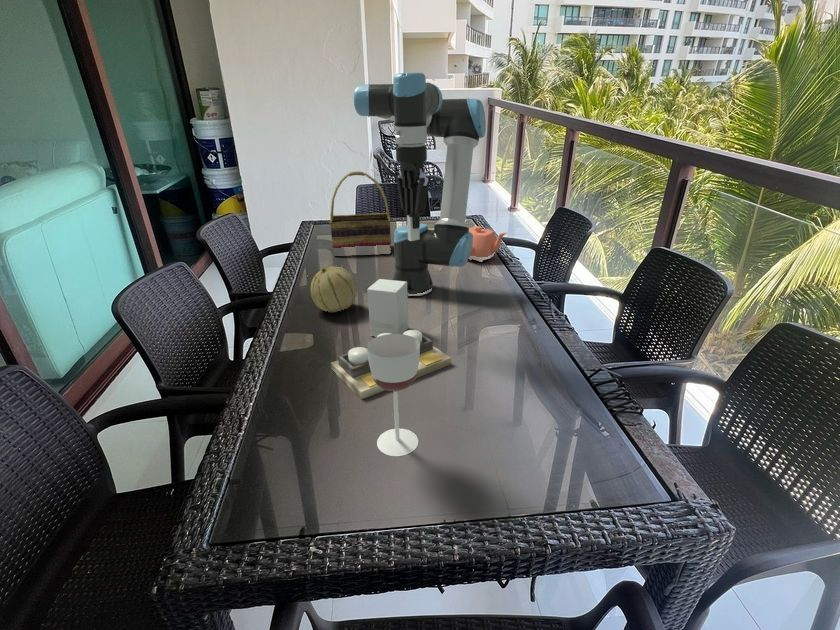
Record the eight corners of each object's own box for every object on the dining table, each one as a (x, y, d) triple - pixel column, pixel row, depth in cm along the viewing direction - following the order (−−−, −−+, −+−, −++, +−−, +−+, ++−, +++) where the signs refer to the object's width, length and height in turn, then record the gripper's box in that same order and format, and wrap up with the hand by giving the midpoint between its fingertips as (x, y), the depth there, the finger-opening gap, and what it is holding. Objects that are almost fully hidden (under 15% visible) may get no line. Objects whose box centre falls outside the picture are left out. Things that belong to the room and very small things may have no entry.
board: (331, 369, 117) (329, 354, 115) (415, 340, 131) (415, 326, 129) (361, 399, 105) (360, 382, 103) (450, 364, 119) (451, 349, 117)
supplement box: (409, 327, 138) (408, 281, 132) (398, 341, 131) (396, 292, 124) (381, 323, 141) (379, 277, 135) (369, 336, 133) (366, 288, 127)
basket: (332, 257, 201) (323, 175, 186) (333, 248, 214) (326, 170, 200) (392, 255, 204) (389, 173, 189) (390, 245, 217) (387, 168, 202)
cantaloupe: (367, 309, 151) (364, 265, 145) (331, 324, 141) (326, 278, 135) (339, 297, 160) (335, 256, 154) (303, 311, 150) (298, 267, 144)
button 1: (345, 363, 115) (344, 351, 113) (363, 357, 117) (362, 345, 116) (355, 371, 111) (353, 359, 110) (373, 365, 114) (372, 353, 112)
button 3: (399, 344, 123) (399, 333, 122) (415, 339, 126) (414, 328, 124) (410, 352, 119) (409, 340, 118) (425, 346, 122) (425, 335, 120)
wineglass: (373, 429, 96) (367, 335, 86) (419, 426, 96) (417, 332, 87) (373, 458, 88) (366, 358, 79) (423, 455, 89) (422, 355, 79)
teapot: (505, 263, 191) (507, 230, 185) (463, 267, 187) (463, 234, 181) (489, 251, 207) (491, 220, 201) (450, 254, 203) (450, 223, 197)
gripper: (384, 144, 114) (388, 236, 125) (413, 148, 105) (415, 248, 115) (409, 141, 118) (411, 231, 128) (439, 145, 108) (439, 242, 119)
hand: (413, 239), depth 122 cm, fingers closed
